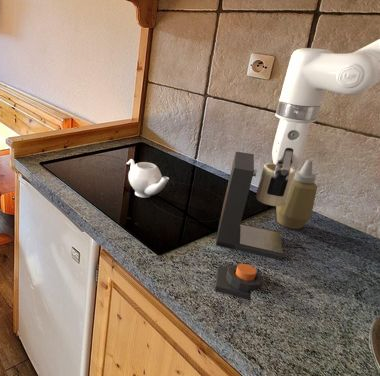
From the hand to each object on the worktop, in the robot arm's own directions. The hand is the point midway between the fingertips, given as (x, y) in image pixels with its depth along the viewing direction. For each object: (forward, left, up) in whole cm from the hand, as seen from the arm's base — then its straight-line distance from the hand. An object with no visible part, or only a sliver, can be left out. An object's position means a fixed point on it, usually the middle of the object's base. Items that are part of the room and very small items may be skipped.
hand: (274, 188), depth 92 cm
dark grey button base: (+3, +20, -15) cm, 25 cm away
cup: (0, 0, -3) cm, 3 cm away
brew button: (+3, +20, -12) cm, 24 cm away
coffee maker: (+2, 0, -15) cm, 15 cm away
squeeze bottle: (-8, -14, -15) cm, 22 cm away
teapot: (+31, -14, -15) cm, 37 cm away
